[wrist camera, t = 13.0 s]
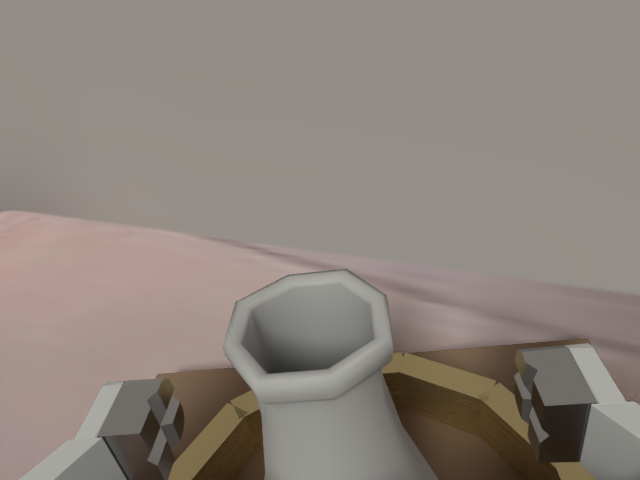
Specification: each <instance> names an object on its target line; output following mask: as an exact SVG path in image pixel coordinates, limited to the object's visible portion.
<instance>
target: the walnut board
mask: <svg viewBox="0 0 640 480" xmlns="http://www.w3.org/2000/svg"><path fill="white" fill-rule="evenodd" d="M585 343H589V344H590V345H591V343H590V341H589V340H588V338H587V339H575V340H563V341H551V342H539V343H527V344H515V345H503V346H491V347H479V348H467V349H455V350H443V351H431V352H419V353H409V354H412V355H415V356H419V357H422V358H425V359H428V360H431V361H435V362H438V363H441V364H444V365H447V366H451V367H454V368H457V369H460V370H464V371H467V372H470V373H473V374H476V375H480V376H483V377H486V378H489V379H493V380H496V384H498V383H501V384H502V385H503V386H504V387H506V388H507V389H508V390H509V391H510V392H511V393H513V394H514V376H515V375H516V374H517V373H518V372H519V371H518V368H517V366H516V363H515V358H516V352H517V350H518V349H529V348H540V347H551V346H565V345H574V344H585ZM402 355H403V356H404V354H402ZM156 379H170V381H171V383H172V385H173V387H174V391H173V394H172V396H173V397H174V398H176V399H177V400H179V401H180V402H181V405H182V407H183V411H184V417H185V419H184V431H183V434H182V438H181V441H180V442H179V443H178V444H177V445H176V446H175V447H174V448H173V449H172V452H173V454H174V456H175V460H174V462H175V461H176V460H177V459H178V458H179V457H180V455H181V454H182V453H183V452H184V451H185V450H186V449H187V448H188V447H189V445H190V444H191V443H192V442H193V441H194V440H195V439H196V438H197V436H198V435H199V434H200V433H201V432H202V431H203V430H204V429H205V427H206V426H207V425H208V424H209V423H210V422H211V421H212V420H213V418H214V417H215V416H216V415H217V414H218V413H219V412H220V411H221V409H222V408H223V407H224V406H225V405H226V404H227V403H229V404H231V400H233V399H235V398H237V397H239V396H241V395H243V394H245V393H247V392H249V391H251V390H252V389H251V388H250V387H249V385H248V384H247V383H246V382H245V380H244V379H243V378H242V377H241V375H240V374H239V373H238V371H237V370H236V369H235V368H225V369H213V370H201V371H189V372H177V373H165V374H157V376H156ZM514 395H515V394H514ZM231 405H232V404H231ZM396 411H397V413H398V416H399V419H400V421H401V424H402V426H403V427H404V429H405V430H406V432H407V433H408V435H409V436H410V438H411V439H412V441H413V442H414V444H415V445H416V447H417V448H418V450H419V451H420V452H421V454H422V455H423V457H424V458H425V460H426V461H427V463H428V464H429V466H430V467H431V469H432V470H433V472H434V473H435V475H436V476H437V478H438V479H439V480H522V479H521V478H520V477H519V476H518V475H517V474H516V473H515V472H514V471H513V470H512V469H511V468H510V467H509V466H508V465H507V464H506V463H505V462H504V461H503V460H502V459H501V458H500V457H499V456H498V455H497V453H496V452H495V451H494V450H493V449H492V448H491V447H490V446H489V445H488V444H487V443H486V442H485V441H484V440H483V439H482V438H480V437H478V436H475V435H472V434H470V433H467V432H464V431H462V430H459V429H456V428H454V427H451V426H448V425H446V424H443V423H440V422H438V421H435V420H432V419H430V418H427V417H424V416H422V415H419V414H416V413H414V412H411V411H408V410H406V409H403V408H402V409H396ZM264 477H265V462H264V448H263V449H261V450H259V451H257V452H256V453H255V455H254V456H253V457H252V459H251V460H250V461H249V463H248V464H247V465H246V466H245V468H244V469H243V470H242V472H241V473H240V474H239V476H238V477H237V478H236V480H264Z"/></svg>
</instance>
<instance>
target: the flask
mask: <svg viewBox="0 0 640 480" xmlns="http://www.w3.org/2000/svg"><path fill="white" fill-rule="evenodd" d="M223 349H224V352H225V356H226V357H227V358H228V360H229V361H230V363H231V364H232V365H233V366H234V368H235V369H236V370H237V371H238V373H239V374H240V375H241V377H242V378H243V379H244V380H245V382H246V383H247V384H248V385H249V387H250V388H251V389H252V390H253V392H254V393H255V396H256V399H257V402H258V406H259V409H260V412H261V416H262V431H263V447H264V462H265V477H264V480H439V479H438V478H437V476H436V475H435V473H434V472H433V470H432V469H431V467H430V466H429V464H428V463H427V461H426V460H425V458H424V457H423V455H422V454H421V452H420V451H419V450H418V448H417V447H416V445H415V444H414V442H413V441H412V439H411V438H410V436H409V435H408V433H407V432H406V430H405V429H404V427H403V426H402V424H401V421H400V419H399V416H398V413H397V411H396V408H395V406H394V403H393V400H392V398H391V395H390V392H389V390H388V387H387V385H386V382H385V379H384V377H383V373H382V368H383V367H384V366H386V365H387V364H389V363H390V362H391V361H392V358H393V353H394V347H393V339H392V331H391V323H390V315H389V307H388V301H387V295H386V294H384V293H383V292H381V291H380V290H378V289H377V288H375V287H373V286H372V285H370V284H369V283H367V282H366V281H364V280H363V279H361V278H360V277H358V276H357V275H355V274H354V273H352V272H351V271H349V270H348V269H340V270H330V271H321V272H311V273H302V274H292V275H287V276H285V277H283V278H281V279H279V280H277V281H275V282H273V283H271V284H269V285H267V286H266V287H264V288H262V289H260V290H258V291H256V292H254V293H252V294H250V295H248V296H246V297H244V298H242V299H240V300H238V301H236V302H235V306H234V309H233V313H232V316H231V320H230V323H229V327H228V330H227V334H226V337H225V341H224V344H223Z"/></svg>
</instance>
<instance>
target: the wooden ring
mask: <svg viewBox="0 0 640 480" xmlns="http://www.w3.org/2000/svg"><path fill="white" fill-rule="evenodd" d="M382 373H383V377H384V379H385V382H386V385H387V387H388V390H389V392H390V395H391V398H392V400H393V403H394V406H395V408H396V409H402V408H403V409H406V410H408V411H411V412H414V413H416V414H419V415H422V416H424V417H427V418H430V419H432V420H435V421H438V422H440V423H443V424H446V425H448V426H451V427H454V428H456V429H459V430H462V431H464V432H467V433H470V434H472V435H475V436H478V437H480V438H482V439H483V440H484V441H485V442H486V443H487V444H488V445H489V446H490V447H491V448H492V449H493V450H494V451H495V452H496V453H497V455H498V456H499V457H500V458H501V459H502V460H503V461H504V462H505V463H506V464H507V465H508V466H509V467H510V468H511V469H512V470H513V471H514V472H515V473H516V474H517V475H518V476H519V477H520V478H521V479H522V480H596V479H595V478H594V477H593V476H592V475H591V474H590V473H589V472H588V471H587V470H585V469H584V468H583V467H582V466H581V465H580V462H560V463H538V462H537V460H536V457H535V454H534V452H533V449H532V446H531V444H530V441H529V439H528V425H529V424H528V423H526V422H525V421H524V420H522V419H521V417H520V414H519V411H518V408H517V404H516V400H515V395H514V394H513V393H511V392H510V391H509V390H508V389H507V388H506V387H504V386H503V385H502V384H501V383H498V384H496V380H493V379H489V378H486V377H483V376H480V375H476V374H473V373H470V372H467V371H464V370H460V369H457V368H454V367H451V366H447V365H444V364H441V363H438V362H435V361H431V360H428V359H425V358H422V357H419V356H415V355H412V354H409V353H406V352H405V354H404V356H403V355H402V352H397V353H393V358H392V361H391V362H390V363H389V364H387V365H386V366H384V367H383V368H382ZM231 404H232V405H231ZM231 404H229V403H227V404H226V405H225V406H224V407H223V408H222V409H221V411H220V412H219V413H218V414H217V415H216V416H215V417H214V418H213V420H212V421H211V422H210V423H209V424H208V425H207V426H206V427H205V429H204V430H203V431H202V432H201V433H200V434H199V435H198V436H197V438H196V439H195V440H194V441H193V442H192V443H191V444H190V445H189V447H188V448H187V449H186V450H185V451H184V452H183V453H182V454H181V455H180V457H179V458H178V459H177V460H176V461H175V462H174V463H173V466H172V469H171V472H170V475H169V478H168V480H236V478H237V477H238V476H239V474H240V473H241V472H242V470H243V469H244V468H245V466H246V465H247V464H248V463H249V461H250V460H251V459H252V457H253V456H254V455H255V453H256V452H257V451H259V450H261V449H263V448H264V447H263V431H262V416H261V412H260V409H259V406H258V402H257V399H256V396H255V393H254V392H253V390H251V391H249V392H247V393H245V394H243V395H241V396H239V397H237V398H235V399H233V400H231Z"/></svg>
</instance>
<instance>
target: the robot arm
mask: <svg viewBox="0 0 640 480" xmlns="http://www.w3.org/2000/svg"><path fill="white" fill-rule="evenodd" d="M515 363H516V366H517V368H518V371H519V372H518V373H517V374H516V375H515V376H514V394H515V400H516V404H517V408H518V411H519V414H520V417H521V419H522V420H524V421H525V422H526V423H528V424H529V425H528V439H529V441H530V444H531V446H532V449H533V452H534V454H535V457H536V460H537V462H538V463H560V462H580V465H581V466H582V467H583V468H584V469H585V470H587V471H588V472H589V473H590V474H591V475H592V476H593V477H594V478H595V479H596V480H640V405H639V404H638V403H636V402H635V401H632V402H627V401H626V400H625V398H624V396H623V395H622V393H621V391H620V390H619V388H618V387H617V385H616V383H615V382H614V380H613V378H612V377H611V375H610V374H609V372H608V370H607V369H606V367H605V365H604V364H603V362H602V361H601V359H600V357H599V356H598V354H597V352H596V351H595V349H594V348H593V346H592V345H590V344H589V343H585V344H574V345H565V346H551V347H540V348H529V349H518V350H517V352H516V358H515ZM173 391H174V387H173V385H172V383H171V381H170V379H147V380H128V381H117V382H107V383H106V384H105V385H104V386H103V387H102V388H101V390H100V392H99V394H98V396H97V398H96V399H95V401H94V403H93V405H92V407H91V409H90V411H89V412H88V414H87V416H86V418H85V420H84V422H83V424H82V426H81V427H80V429H79V431H78V433H77V435H76V437H75V439H71V440H67V441H66V442H65V443H64V444H62V445H61V446H60V447H59V448H57V449H56V450H55V451H54V452H53V453H51V454H50V455H49V456H48V457H46V458H45V459H44V460H43V461H41V462H40V463H39V464H38V465H37V466H35V467H34V468H33V469H32V470H30V471H29V472H28V473H27V474H26V475H24V476H23V477H22V478H21V479H19V480H168V478H169V475H170V472H171V469H172V466H173V463H174V460H175V456H174V454H173V452H172V449H173V448H174V447H175V446H176V445H177V444H178V443H179V442H180V441H181V438H182V434H183V431H184V419H185V417H184V411H183V407H182V405H181V402H180V401H179V400H177V399H176V398H174V397H173V396H172V394H173Z"/></svg>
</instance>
